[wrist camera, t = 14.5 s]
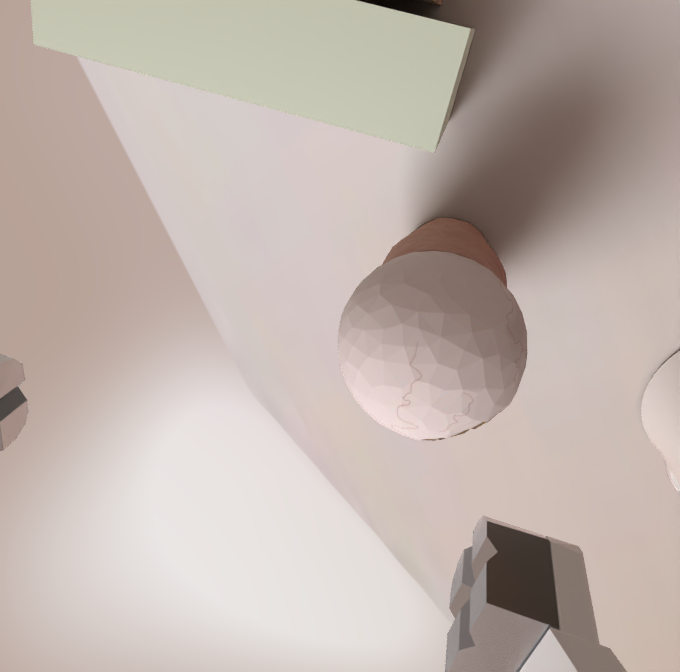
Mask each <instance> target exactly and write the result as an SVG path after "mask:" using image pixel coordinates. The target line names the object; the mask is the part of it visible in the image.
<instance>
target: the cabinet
mask: <svg viewBox="0 0 680 672" xmlns="http://www.w3.org/2000/svg"><path fill="white" fill-rule="evenodd" d="M31 11H32V26H33V40H34V45H38V46H41V47H45V48H49V49H53V50H56V51H60V52H64V53H68V54H71V55H75V56H78V57H82V58H86V59H89V60H93V61H97V62H101V63H104V64H108V65H112V66H115V67H119V68H123V69H126V70H130V71H134V72H138V73H141V74H145V75H149V76H152V77H156V78H160V79H163V80H167V81H171V82H175V83H178V84H182V85H186V86H189V87H193V88H197V89H200V90H204V91H208V92H212V93H215V94H219V95H223V96H226V97H230V98H234V99H237V100H241V101H245V102H249V103H252V104H256V105H260V106H263V107H267V108H271V109H274V110H278V111H282V112H286V113H289V114H293V115H297V116H300V117H304V118H308V119H311V120H315V121H319V122H323V123H326V124H330V125H334V126H337V127H341V128H345V129H348V130H352V131H356V132H360V133H363V134H367V135H371V136H374V137H378V138H382V139H385V140H389V141H393V142H397V143H400V144H404V145H408V146H411V147H415V148H419V149H422V150H426V151H430V152H434V153H435V151H436V148H437V146H438V144H439V141H440V139H441V137H442V135H443V132H444V130H445V128H446V126H447V123H448V121H449V117H450V114H451V111H452V107H453V104H454V100H455V97H456V94H457V90H458V87H459V84H460V80H461V77H462V73H463V70H464V67H465V63H466V60H467V57H468V53H469V50H470V46H471V43H472V40H473V36H474V33H475V30H476V29H472V28H468V27H464V26H460V25H456V24H452V23H448V22H444V21H440V20H436V19H432V18H428V17H424V16H420V15H416V14H412V13H408V12H404V11H399V10H395V9H391V8H387V7H383V6H379V5H375V4H371V3H367V2H363V1H359V0H31Z"/></svg>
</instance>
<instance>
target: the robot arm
mask: <svg viewBox="0 0 680 672" xmlns="http://www.w3.org/2000/svg"><path fill="white" fill-rule="evenodd" d="M24 380H25V376H24V369H23V364H22V363H20V362H19V361H17V360H15V359H13V358H11V357H7V356H5V355H2V354H0V451H2V450H4V449H5V448H6V447H8V446H9V445H10V444H11V443H12V442H13V441H14V440H15V439H16V438H17V436H18V435H19V433H20V432H21V430H22V428H23V427H24V425H25V423H26V418H27V414H28V404H27V399H26V398H25V396H24V395H23V393H22V392H21V390H20V389H19V386H20V385H21V384H22V383H23V382H24ZM641 417H642V423H643V427H644V429H645V432H646V434H647V436H648V438H649V439H650V441H651V442H652V444H653V445H654V446H655V447H656V448H657V450H658V451H659V452H660V454H661V455H662V456H663V458H664V459H665V461H666V466H667V472H668V476H669V479H670V481H671V482H672V484H673V486H674V487H675V489H676V490H677V491H679V492H680V351H678V352H677V353H676V354H674V355H673V356H672V357H671V358H669V359H668V360H667V361H666V362H665V363H664V364H663V365H662V366H661V367H660V368H659V369H658V370H657V372H656V373H655V374H654V376H653V377H652V379H651V380H650V382H649V384H648V386H647V388H646V390H645V393H644V396H643V400H642V406H641ZM449 608H450V610H451V612H452V614H453V615H454V617H455V620H454V622H453V624H452V626H451V628H450V630H449V632H448V634H447V650H446V664H445V672H627V671H626V670H625V668H624V667H623V666H622V664H621V663H620V661H619V660H618V659H617V657H616V656H615V655H614V653H613V652H612V650H611V649H610V648H607V647H605V646H602V645H600V644H599V638H598V633H597V628H596V622H595V617H594V611H593V606H592V601H591V595H590V590H589V584H588V579H587V574H586V568H585V563H584V557H583V552H582V551H581V549H580V548H579V547H578V546H576V545H573V544H569V543H566V542H563V541H560V540H557V539H554V538H551V537H548V536H546V537H545V536H543V535H541V534H538V533H534V532H531V531H528V530H525V529H522V528H519V527H516V526H513V525H510V524H507V523H504V522H501V521H498V520H495V519H492V518H488V517H485V516H483V517H482V518H481V519H480V520H479V521H478V523H477V525H476V527H475V529H474V531H473V545H472V547H469V548H467V549H465V550H464V551H463V553H462V555H461V558H460V560H459V562H458V564H457V568H456V571H455V574H454V578H453V582H452V588H451V595H450V607H449Z"/></svg>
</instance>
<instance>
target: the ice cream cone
mask: <svg viewBox="0 0 680 672" xmlns="http://www.w3.org/2000/svg"><path fill="white" fill-rule="evenodd" d="M338 354H339V363H340V368H341V371H342V374H343V377H344V379H345V382H346V384H347V386H348V388H349V390H350V391H351V393H352V395H353V397H354V398H355V399H356V401H357V402H358V403H359V405H360V406H361V407H362V408H363V409H364V410H365V411H366V412H367V413H368V414H369V415H370V416H371V417H372V418H374V419H375V420H376V421H377V422H378V423H380V424H382V425H383V426H385V427H387V428H389V429H391V430H393V431H395V432H396V433H399V434H401V435H404V436H407V437H410V438H412V439H415V440H433V441H434V440H437V439H439V440H441V439H445V438H448V437H452V436H456V435H460V434H463V433H465V432H466V431H468V430H469V429H476V428H477V427H479V426H481V425H482V424H484V423H487V422H489V421H490V420H491V419H492V418H493V417H494V416H495V415H497V414H498V413H499V412H501V411H503V410H504V409H505V408H506V407H507V406H508V405H509V404H510V403H511V401H512V399H513V397H514V396H515V394H516V392H517V389H518V387H519V384H520V381H521V378H522V375H523V372H524V370H525V366H526V359H527V331H526V327H525V323H524V319H523V315H522V312H521V310H520V308H519V306H518V304H517V302H516V300H515V298H514V296H513V295H512V293H511V292H510V291H509V290H508V289H507V280H506V273H505V270H504V267H503V266H502V264H501V262H500V260H499V258H498V257H497V255H496V254H495V252H494V251H493V250H492V249H491V247H490V246H489V245H488V244H487V243H486V240H485V238H484V236H483V235H482V233H481V232H480V231H479V230H477V229H476V228H475V227H474V226H473V225H471V224H470V223H467V222H464V221H461V220H458V219H453V218H437V219H435V220H432V221H430V222H428V223H426V224H424V225H422V226H421V227H420V228H418V229H417V230H416V231H414V232H412V233H411V234H410V235H408V236H407V237H405V238H403V239H402V240H401V241H400V242H398V243H397V244H396V245H395V246H393V247H392V249H391V251H390V253H389V254H388V255H387V257H386V259H385V261H384V262H383V264H382V265H381V266H379V267H378V268H376V269H375V270H374V271H373V272H372V273H371V274H370V275H369V276H367V277H366V278H365V279H364V280H363V281H362V282H361V283H360V284H359V286H358V287H357V288H356V290H355V291H354V293H353V295H352V296H351V298H350V300H349V301H348V303H347V305H346V307H345V309H344V311H343V313H342V316H341V321H340V326H339V333H338Z"/></svg>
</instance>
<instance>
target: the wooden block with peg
mask: <svg viewBox="0 0 680 672" xmlns="http://www.w3.org/2000/svg"><path fill="white" fill-rule="evenodd" d="M422 1H426V2H430V3H434V4H438V5H442V1H443V0H422Z"/></svg>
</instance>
